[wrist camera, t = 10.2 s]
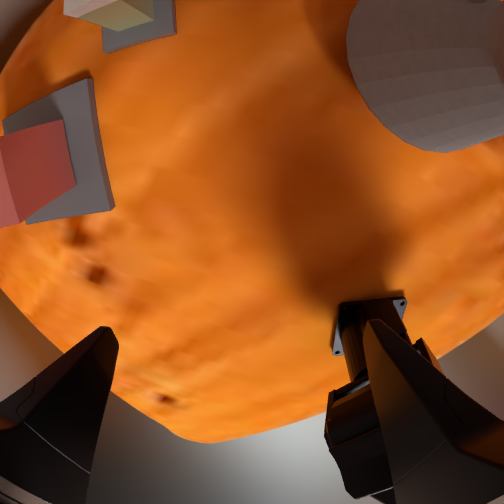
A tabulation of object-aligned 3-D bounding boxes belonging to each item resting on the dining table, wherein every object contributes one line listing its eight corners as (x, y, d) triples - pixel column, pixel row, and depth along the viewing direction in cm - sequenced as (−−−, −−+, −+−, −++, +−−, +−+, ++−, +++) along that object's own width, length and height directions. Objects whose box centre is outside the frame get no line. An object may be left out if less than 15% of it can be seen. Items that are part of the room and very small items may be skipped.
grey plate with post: (115, 206, 20) (65, 252, 14) (31, 221, 21) (-17, 259, 14) (92, 78, 15) (26, 80, 9) (8, 118, 16) (-50, 137, 10)
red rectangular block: (76, 185, 18) (20, 223, 12) (33, 197, 18) (-19, 232, 13) (62, 119, 15) (-2, 137, 10) (20, 138, 16) (-39, 161, 10)
